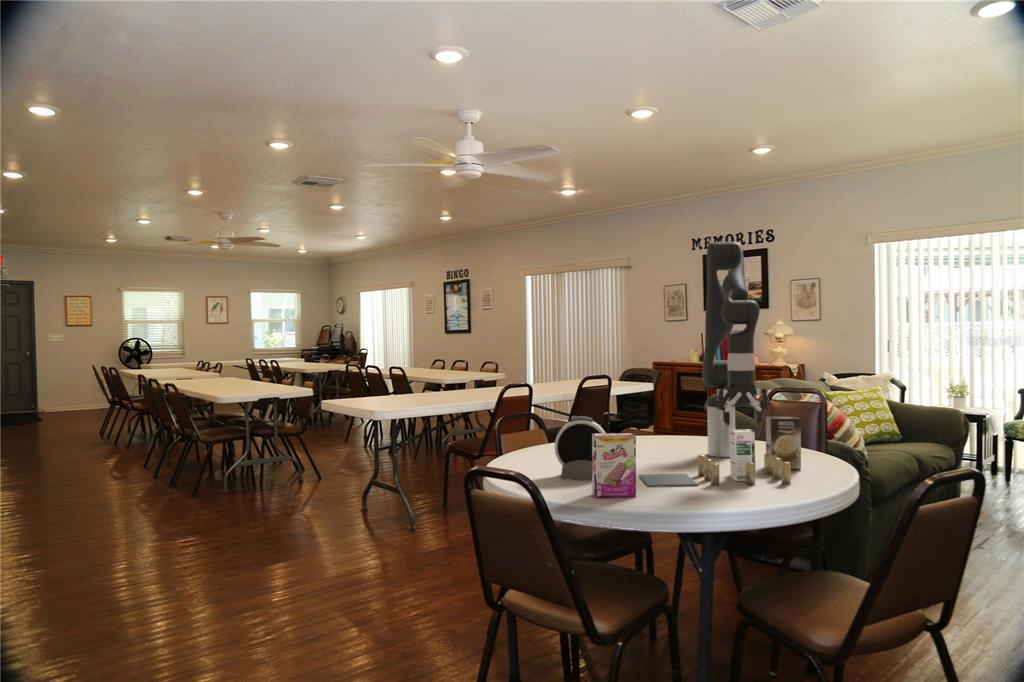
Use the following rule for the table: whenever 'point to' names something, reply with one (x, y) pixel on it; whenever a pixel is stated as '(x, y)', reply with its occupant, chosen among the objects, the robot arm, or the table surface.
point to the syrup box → (741, 452)
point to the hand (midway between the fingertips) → (742, 424)
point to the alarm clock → (576, 447)
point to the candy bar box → (614, 465)
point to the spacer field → (747, 470)
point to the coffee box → (784, 439)
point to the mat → (668, 480)
